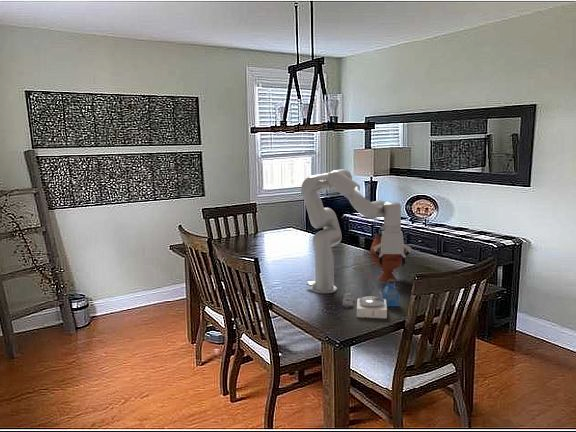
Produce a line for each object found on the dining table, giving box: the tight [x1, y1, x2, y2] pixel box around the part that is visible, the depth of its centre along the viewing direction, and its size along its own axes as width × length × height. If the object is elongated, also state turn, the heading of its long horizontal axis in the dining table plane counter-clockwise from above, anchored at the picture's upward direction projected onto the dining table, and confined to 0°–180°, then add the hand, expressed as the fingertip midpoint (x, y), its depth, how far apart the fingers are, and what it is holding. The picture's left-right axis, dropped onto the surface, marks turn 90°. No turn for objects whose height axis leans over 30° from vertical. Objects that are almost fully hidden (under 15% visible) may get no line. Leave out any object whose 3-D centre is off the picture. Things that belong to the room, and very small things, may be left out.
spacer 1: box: [342, 292, 355, 302], centre depth 228 cm, size 5×5×3 cm
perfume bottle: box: [382, 279, 400, 307], centre depth 221 cm, size 6×6×12 cm
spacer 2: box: [342, 298, 354, 308], centre depth 221 cm, size 5×5×3 cm
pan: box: [359, 295, 384, 307], centre depth 212 cm, size 11×11×1 cm
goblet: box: [369, 232, 407, 282], centre depth 258 cm, size 19×19×25 cm
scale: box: [356, 297, 388, 319], centre depth 212 cm, size 13×14×4 cm
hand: (392, 265), depth 218 cm, fingers open, 9 cm apart
